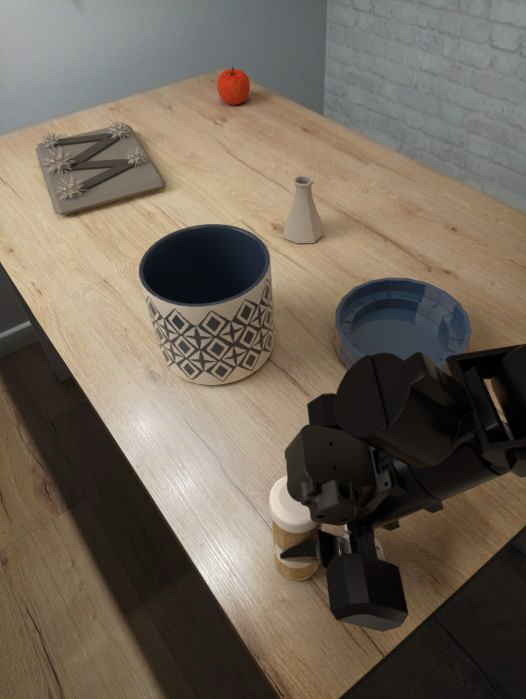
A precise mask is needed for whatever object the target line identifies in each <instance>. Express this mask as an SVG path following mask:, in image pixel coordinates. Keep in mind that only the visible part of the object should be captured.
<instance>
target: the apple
mask: <svg viewBox="0 0 526 699" xmlns="http://www.w3.org/2000/svg"><path fill="white" fill-rule="evenodd" d="M250 88H251V82H250V79H249V77H248V75H247V74H246V72H244V71H243V70H241V69H234V66H232V67H231V69H226V70H223V71H222V72H221V73H220V74H219V76H218V79H217V83H216V89H217V93H218V96H219V98H221V100H222V101H223V102H224V103H225V104H227V105H230V106H235V105H241V104H242V103H243V102H245V101H246V100H247V98H248V96H249V94H250Z"/></svg>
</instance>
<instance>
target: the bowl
mask: <svg viewBox="0 0 526 699" xmlns="http://www.w3.org/2000/svg"><path fill="white" fill-rule="evenodd" d="M333 327H334V328H333V346H334V348H335V351H336V354H337V357H338V358H339V361H341V362H342V364H344V366H345V367H346V368H347V369H348V370H349V369H350V368H351V367H352V365H354V364H355V363H356V362H357V361H358V360H360V359H361V358H363V357H364V356H366V355H370V356H371V355H374V354H377V353H390V354H394V355H396V356H398V357H399V358H401V359H402V360H405V359H407V358H408V357H410V356H411V355H413V354H415V353H416V352H422V353H423V354H425V355H426V356H428V357H429V358H430V359H431V360H432V361H433V362H434V363H435V365H436V366H437V367H438V368H439V369H440V370H442V371H443V372H445V373H446V374H447V375H449V376H451V374H450V371H449V369H448V366H447V363H446V361H445V360H446V358H447V357H448V356H451V355H457V354H463V353H467V349H468V347H469V344H470V343H469V342H470V338H471V335H472V331H473V330H472V326H471V322H470V316H469V315H468V313H467V311H466V310H465V308H464V307H463V305H462V304H461V303H460V302H459V301H458V300H457V299H456V298H455V297H453V296H452V295H451V294H450V293H449V292H447V291H446V290H445V289H442V288H440V287H437V286H435V285H433V284H432V283H429V282H426V281H422V280H417V279H414V278H408V277H383V278H377V279H371V280H368V281H366V282H363V283H361V284H358V285H356V286H354V287H353V288H352V289H351V290H349V291H348V292H347V293H346V294H344V295H343V296H342V297H341V299H340V301H339V303H338V304H337V306H336V309H335V314H334V326H333Z"/></svg>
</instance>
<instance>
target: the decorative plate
mask: <svg viewBox="0 0 526 699" xmlns="http://www.w3.org/2000/svg"><path fill="white" fill-rule="evenodd" d="M114 121H115V122H113V121H112V120H111V124H109V123H107V125H108V127H104V128H100V129H99V128H98V129H96V130H91V131H86V132H83V133H78V134H74V135H70V136H69V135H68V136H65V137H61V136H60V134H58V135H56V133H55V132H53V131H51V133H50V132H49V131H47V133H44V135H45V136H44V135H41V137H42V138H43V139H42V138H41V141H42V142H40V143H38V144H37V145H36V147H35V149H34V150H35V153H36V156H37V160H38V162H39V165H40V168H41V173H42V175H43V179H44V182H45V185H46V188H47V191H48V194H49V197H50V201H51V205H52V207H53V211H54V213H55V214H58V215H60V216H62V217H63V216H66V215H70V214H74V213H78V212H81V211H86V210H89V209H93V208H97V207H100V206H104V205H107V204H111V203H116V202H118V201H123V200H126V199H129V198H133V197H134V198H135V197H137V196H141V195H144V194H148V193H152V192H156V191H160V190H162V189H164V187H165V186H166V184H167V180H166V179H165V177H164V175H163V174H162V173H161V171H160V170H159V168H158V167H157V165H156V163H155V161H154V160H153V158H152V157H151V155H150V154H149V153H148V152H149V151H147V149H146V148H145V146H144V144H143V143H142V142H141V140H140V138H139V137H138V135H137V133H136V132H135V130H134V129H133V127H132V126H131V125H129V123H126V122H124V121H125V120H124V119H123V120H121V119H119V122H118V121H117V119H116V118H114ZM47 134H48V135H47Z"/></svg>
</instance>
